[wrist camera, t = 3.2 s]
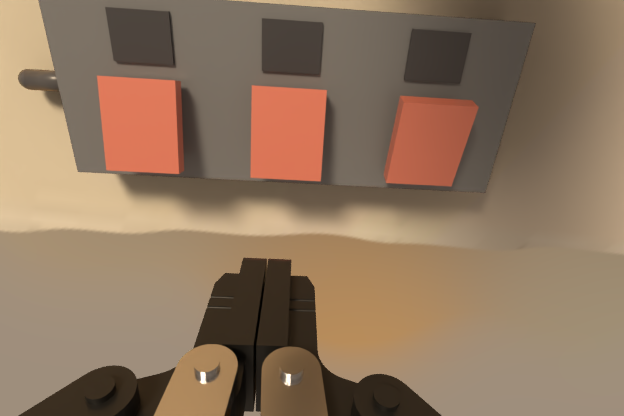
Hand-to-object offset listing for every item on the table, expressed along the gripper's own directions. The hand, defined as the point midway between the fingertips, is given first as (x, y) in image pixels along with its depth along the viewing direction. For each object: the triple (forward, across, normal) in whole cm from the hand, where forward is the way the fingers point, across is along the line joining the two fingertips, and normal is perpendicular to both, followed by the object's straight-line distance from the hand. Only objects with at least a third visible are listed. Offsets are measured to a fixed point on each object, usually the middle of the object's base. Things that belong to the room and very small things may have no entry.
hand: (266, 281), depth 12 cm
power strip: (+16, +1, -3) cm, 16 cm away
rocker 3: (+11, -8, -2) cm, 14 cm away
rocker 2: (+11, 0, -2) cm, 11 cm away
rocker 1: (+11, +8, -2) cm, 14 cm away
